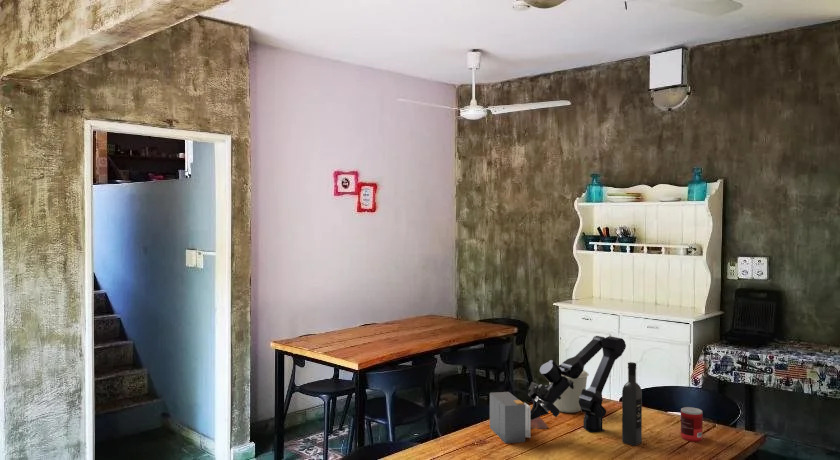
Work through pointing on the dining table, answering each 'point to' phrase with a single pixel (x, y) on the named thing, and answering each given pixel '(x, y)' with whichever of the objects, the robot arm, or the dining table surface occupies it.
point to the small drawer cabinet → (507, 417)
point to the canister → (572, 395)
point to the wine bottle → (632, 409)
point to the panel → (527, 420)
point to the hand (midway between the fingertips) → (528, 419)
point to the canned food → (691, 424)
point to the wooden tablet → (538, 424)
